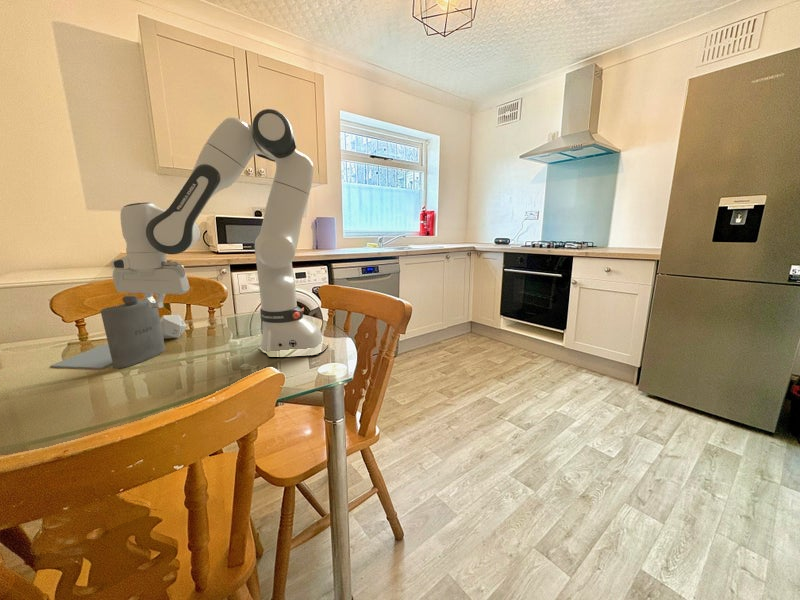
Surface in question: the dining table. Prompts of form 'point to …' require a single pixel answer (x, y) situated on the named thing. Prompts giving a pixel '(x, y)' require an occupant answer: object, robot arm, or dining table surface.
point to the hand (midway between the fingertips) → (156, 307)
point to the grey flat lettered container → (132, 331)
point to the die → (172, 326)
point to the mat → (88, 359)
